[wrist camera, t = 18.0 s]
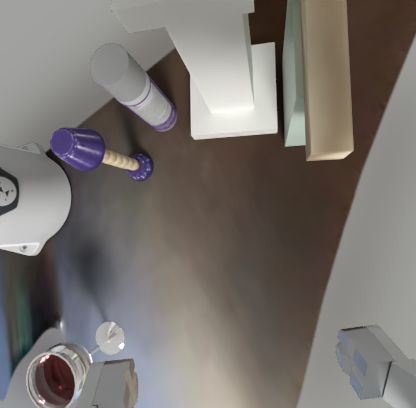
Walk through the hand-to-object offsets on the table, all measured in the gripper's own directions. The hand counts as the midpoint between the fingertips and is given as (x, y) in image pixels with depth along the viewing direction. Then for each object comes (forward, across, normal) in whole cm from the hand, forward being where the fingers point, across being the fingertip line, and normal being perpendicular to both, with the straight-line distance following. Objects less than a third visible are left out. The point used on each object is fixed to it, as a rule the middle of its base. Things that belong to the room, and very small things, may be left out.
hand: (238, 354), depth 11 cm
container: (+38, +4, -6) cm, 39 cm away
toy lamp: (+36, +8, +1) cm, 37 cm away
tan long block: (+18, -11, -13) cm, 24 cm away
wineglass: (+26, +15, +25) cm, 39 cm away
